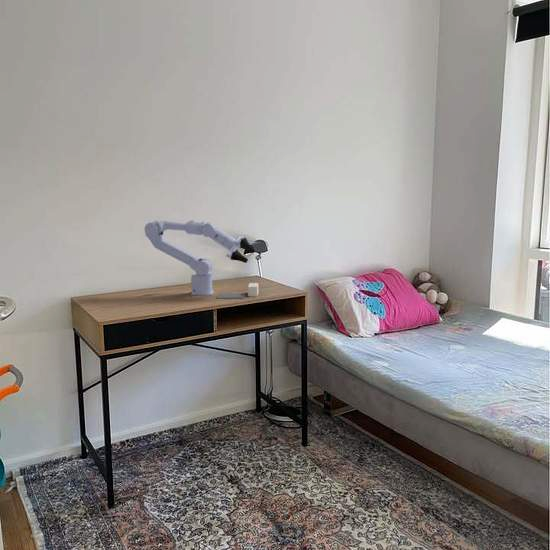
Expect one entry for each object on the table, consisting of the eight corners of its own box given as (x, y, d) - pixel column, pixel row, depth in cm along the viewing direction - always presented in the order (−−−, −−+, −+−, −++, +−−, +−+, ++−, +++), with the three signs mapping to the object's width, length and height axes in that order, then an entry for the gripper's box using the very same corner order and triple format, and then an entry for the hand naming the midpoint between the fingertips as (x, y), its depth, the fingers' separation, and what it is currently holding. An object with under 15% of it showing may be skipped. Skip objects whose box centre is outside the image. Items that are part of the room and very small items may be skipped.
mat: (217, 298, 242) (217, 297, 242) (219, 294, 251) (219, 293, 250) (244, 298, 241) (244, 297, 241) (245, 293, 250) (245, 293, 250)
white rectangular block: (248, 296, 245) (248, 286, 245) (249, 292, 254) (249, 283, 253) (257, 296, 245) (256, 286, 244) (258, 292, 254) (258, 283, 253)
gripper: (221, 243, 240) (247, 260, 240) (234, 226, 250) (260, 241, 250) (216, 253, 245) (241, 269, 245) (229, 235, 255) (254, 251, 255)
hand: (250, 256), depth 248 cm, fingers open, 7 cm apart
